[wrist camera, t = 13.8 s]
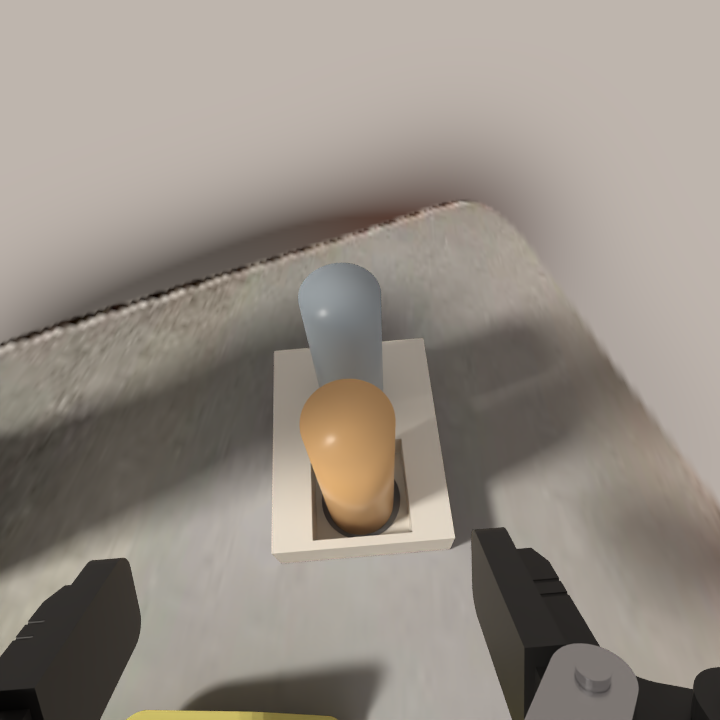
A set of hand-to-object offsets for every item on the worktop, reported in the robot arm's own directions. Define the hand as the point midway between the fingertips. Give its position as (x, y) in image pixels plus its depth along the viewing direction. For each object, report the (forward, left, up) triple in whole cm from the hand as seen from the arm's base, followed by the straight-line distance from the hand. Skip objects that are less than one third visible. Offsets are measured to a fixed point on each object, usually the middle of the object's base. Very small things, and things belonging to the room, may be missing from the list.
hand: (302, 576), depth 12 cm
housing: (-3, +10, -20) cm, 22 cm away
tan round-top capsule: (-2, +7, -19) cm, 20 cm away
